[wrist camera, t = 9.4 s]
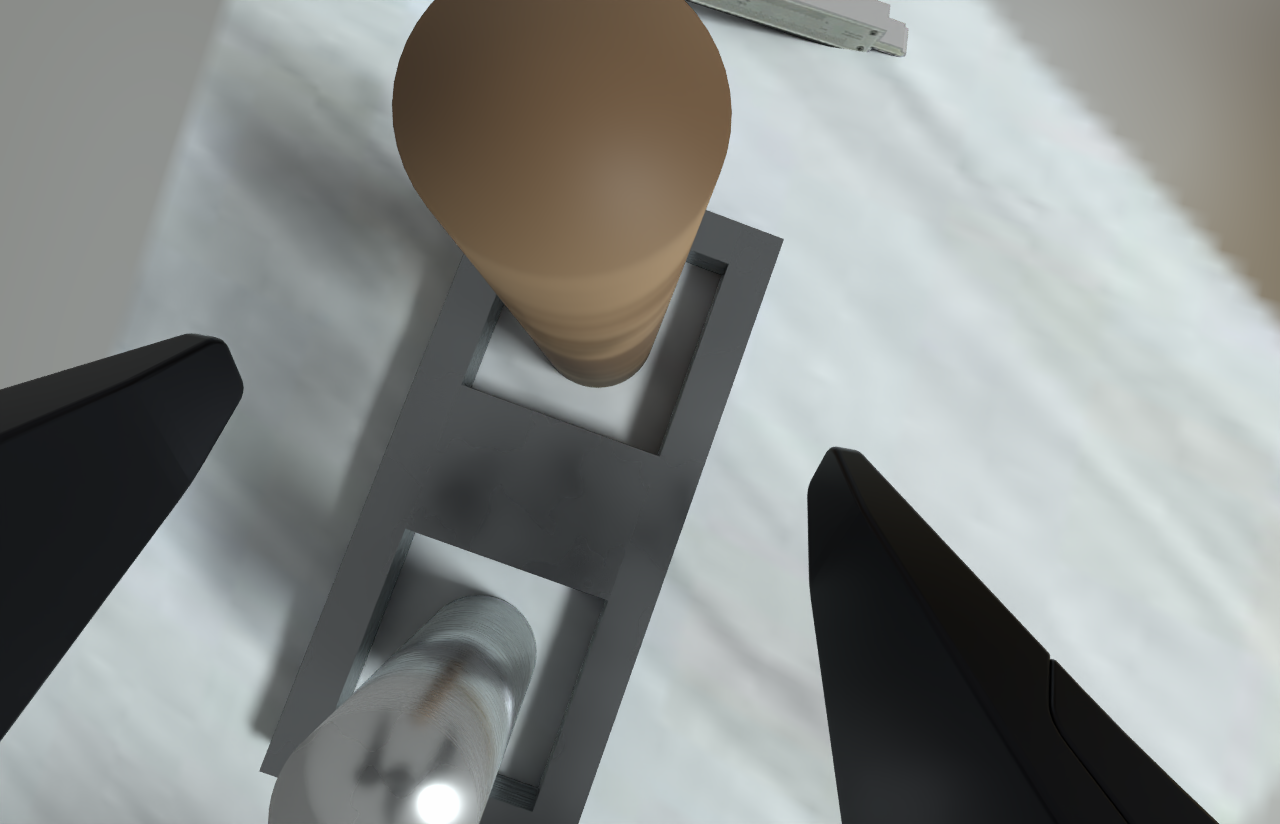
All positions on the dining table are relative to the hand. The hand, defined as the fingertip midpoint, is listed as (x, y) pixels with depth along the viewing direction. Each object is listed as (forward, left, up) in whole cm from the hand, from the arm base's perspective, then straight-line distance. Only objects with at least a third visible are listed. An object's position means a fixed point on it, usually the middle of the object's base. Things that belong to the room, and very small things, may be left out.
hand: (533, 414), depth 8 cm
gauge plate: (-2, +1, -11) cm, 11 cm away
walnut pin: (+4, +1, -11) cm, 12 cm away
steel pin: (-8, +1, -11) cm, 14 cm away
